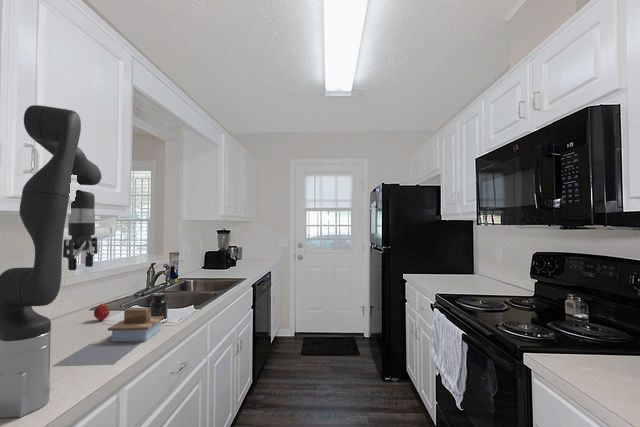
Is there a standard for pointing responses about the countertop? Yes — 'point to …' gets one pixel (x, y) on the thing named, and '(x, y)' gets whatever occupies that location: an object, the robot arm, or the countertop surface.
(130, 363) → the countertop surface
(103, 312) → the red bumpy ovoid
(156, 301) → the supplement bottle
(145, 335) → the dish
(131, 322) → the lid
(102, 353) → the mat
